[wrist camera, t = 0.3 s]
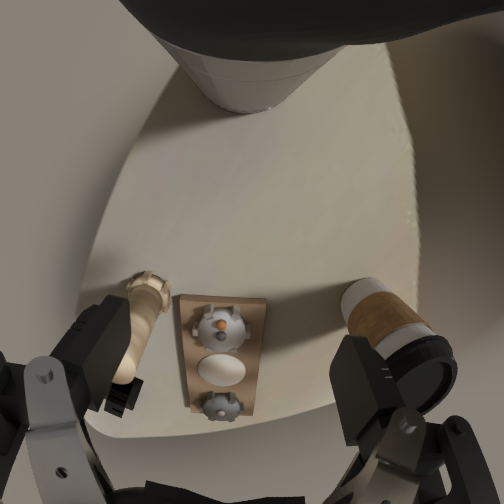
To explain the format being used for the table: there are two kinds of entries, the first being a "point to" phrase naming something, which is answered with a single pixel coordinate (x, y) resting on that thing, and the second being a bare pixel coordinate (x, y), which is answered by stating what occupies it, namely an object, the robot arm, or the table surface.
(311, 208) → the table surface
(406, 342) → the coffee cup
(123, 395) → the black block stand
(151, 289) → the spindle gear
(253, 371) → the gear board
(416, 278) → the table surface
